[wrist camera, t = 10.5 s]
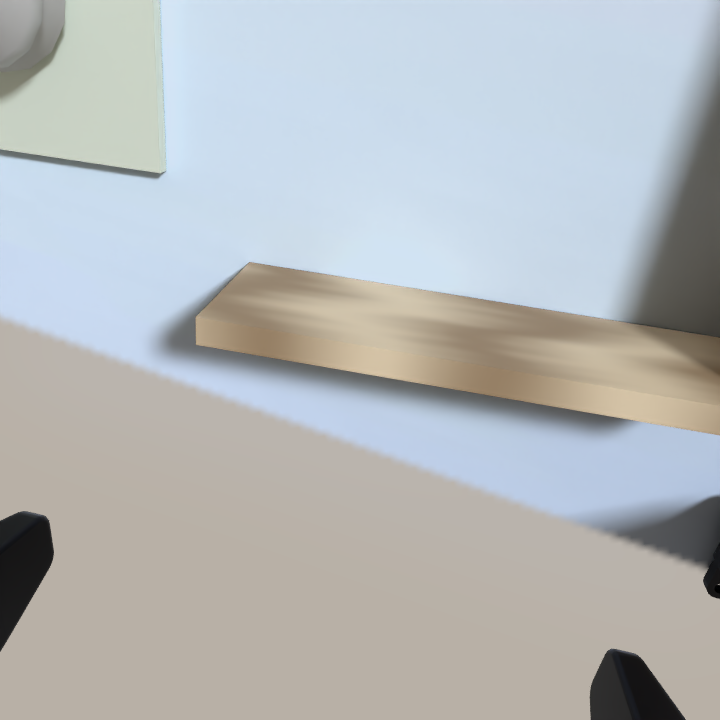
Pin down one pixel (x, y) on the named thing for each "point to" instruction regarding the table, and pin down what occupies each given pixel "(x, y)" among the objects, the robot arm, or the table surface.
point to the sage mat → (93, 90)
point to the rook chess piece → (28, 31)
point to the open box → (469, 345)
